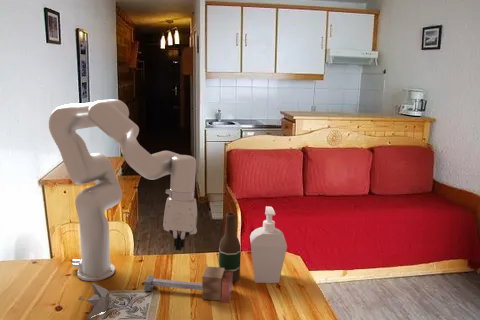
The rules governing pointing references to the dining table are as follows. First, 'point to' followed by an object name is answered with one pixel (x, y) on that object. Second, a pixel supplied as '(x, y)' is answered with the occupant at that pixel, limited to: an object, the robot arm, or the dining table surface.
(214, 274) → the block
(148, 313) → the dining table surface
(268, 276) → the soap bottle
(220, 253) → the beer bottle
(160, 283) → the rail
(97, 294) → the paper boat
